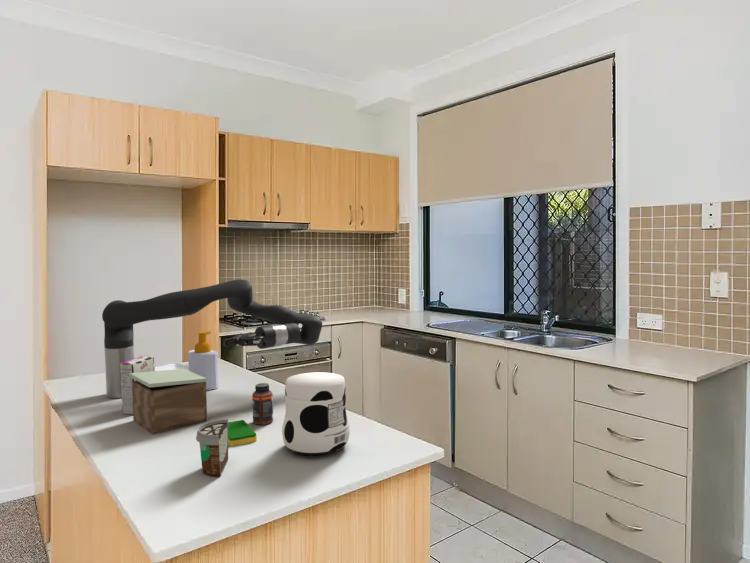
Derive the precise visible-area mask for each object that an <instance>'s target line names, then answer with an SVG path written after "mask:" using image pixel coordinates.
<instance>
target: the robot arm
mask: <svg viewBox="0 0 750 563" xmlns="http://www.w3.org/2000/svg"><path fill="white" fill-rule="evenodd" d="M225 299H227V304H228V307H229V308H230V309H232V310H233V311H236V312H238V313H241V314H245V315H249V316H251V317H255V318H259V319H263V320H265V321H268V322H270V323H273V324H269V325H262V326H257V327H256V329H255V331H254V333H253V332H252V331H250V332H246V333H237V334H236V335H232V337H231V338H225V339H223V340H222V345H223V346H224V347H233V346H237V347H240V346H241V347H255V346H256V347H257V348H258V349H261V350H264V349H270V348H275V347H280V346H284V345H289V344H300V345H307V346H312V345H314V344H315V345H316V343H318V342H319V339H320V335H321V332H322V327H323V321H322V320H321V319H320V318H319V317H318V316H316V315H312V314H304V313H299V312H296V311H294V310H292V309H290V308H288V307H286V306H283V305H278V304H275V305H274V304H271V305H267V304H266V305H264V304H262V303H261V304H260V303H258V302H257V301H256V300H254V298H253V285H252V283H251V282H250V281H249V280H247V279H232V280H228V281H225V282H221V283H217V284H213V285H210V286H204V287H199V288H192V289H185V290H178V291H172V292H167V293H164V294H160V295H157V296H155V297H151V298H148V299H144V300H136V301H124V300H120V299H119V300H112V301H111V302H109V303H108V304H107V305H106V306H105V307H104V309H103V311H102V314H101V315H102V316H101V318H102V321H103V324H104V326H103V327H104V328H103V329H104V339H103V340H104V341H103V342H104V343H103V345H104V361H105V362H104V363H105V364H104V366H105V384H106V385H105V387H106V389H105V390H106V397H107V398H109V399H122V394H121V377H120V363H123V362H126V361H128V360H131V359H134V358H135V349H134V347H135V346H134V345H135V344H134V325H136V324H139V323H140V324H141V323H144V322H148V321H158V320H167V319H169V320H170V319H174V318H175V319H176V318H182V317H187V316H193V315H195V314H197V313H198V312H201V310H202V309H204V308H206V307H207V306H209V305H210V304H212V303H213V302H214V303H215V302H216V301H219V300H225ZM299 324H301V328H300V326H299Z"/></svg>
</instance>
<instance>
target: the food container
mask: <svg viewBox="0 0 750 563" xmlns="http://www.w3.org/2000/svg"><path fill="white" fill-rule="evenodd" d="M228 422H229V419H228V418H226V419H218V420H217V419H216V420H213V421H209V422H208V421H207V422H205V423H204V424H201V425H200V426H199V427H198V429H197V432H196V437H195V440H196V442H198V443H199V452H200V460H201V468H202V470H201V471H202V473H203V475H206V476H208V477H210V478H211V477H214V478H221V477H222V475H223V473H224V471H225V469H226V466H227V464H228V461H229V444H228V427H229V426H228Z"/></svg>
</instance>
